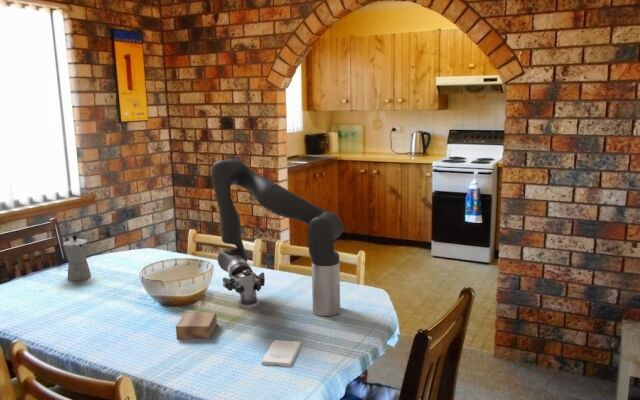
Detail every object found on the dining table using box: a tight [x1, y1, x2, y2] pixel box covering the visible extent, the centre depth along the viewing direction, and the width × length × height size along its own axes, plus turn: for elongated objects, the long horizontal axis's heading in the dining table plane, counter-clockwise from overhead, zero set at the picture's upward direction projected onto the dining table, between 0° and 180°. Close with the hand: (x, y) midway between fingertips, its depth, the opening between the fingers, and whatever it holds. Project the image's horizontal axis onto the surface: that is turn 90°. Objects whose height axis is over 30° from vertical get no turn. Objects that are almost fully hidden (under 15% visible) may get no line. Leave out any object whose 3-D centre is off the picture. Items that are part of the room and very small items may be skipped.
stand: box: [175, 312, 218, 340], centre depth 164 cm, size 10×10×4 cm
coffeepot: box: [62, 234, 92, 282], centre depth 215 cm, size 15×9×18 cm, turn 44°
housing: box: [238, 269, 260, 310], centre depth 163 cm, size 6×6×11 cm
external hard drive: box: [261, 339, 302, 367], centre depth 149 cm, size 2×8×12 cm
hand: (249, 289), depth 161 cm, fingers closed on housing, 5 cm apart
